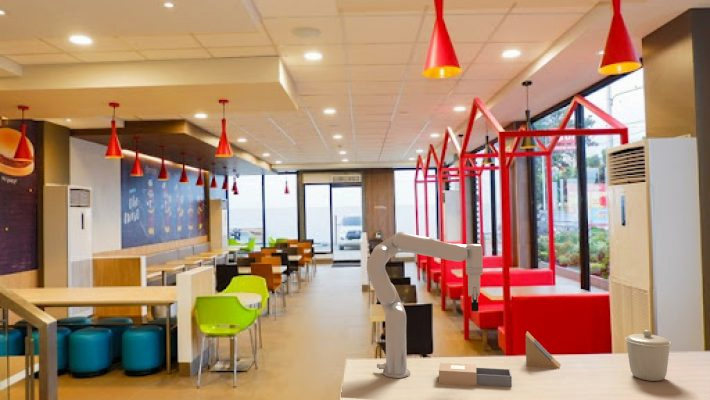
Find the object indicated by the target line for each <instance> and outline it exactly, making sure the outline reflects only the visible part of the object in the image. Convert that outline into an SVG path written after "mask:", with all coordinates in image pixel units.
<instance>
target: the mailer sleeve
mask: <svg viewBox="0 0 710 400" xmlns="http://www.w3.org/2000/svg"><path fill="white" fill-rule="evenodd" d="M476 368H477V364H473V363H472V364H471V363H452V362H451V363H449V362H439V367H438V383H439V384H445V385H446V384H447V385H461V386H462V385H463V386H464V385H465V386H478V385H477V372H476Z"/></svg>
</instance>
